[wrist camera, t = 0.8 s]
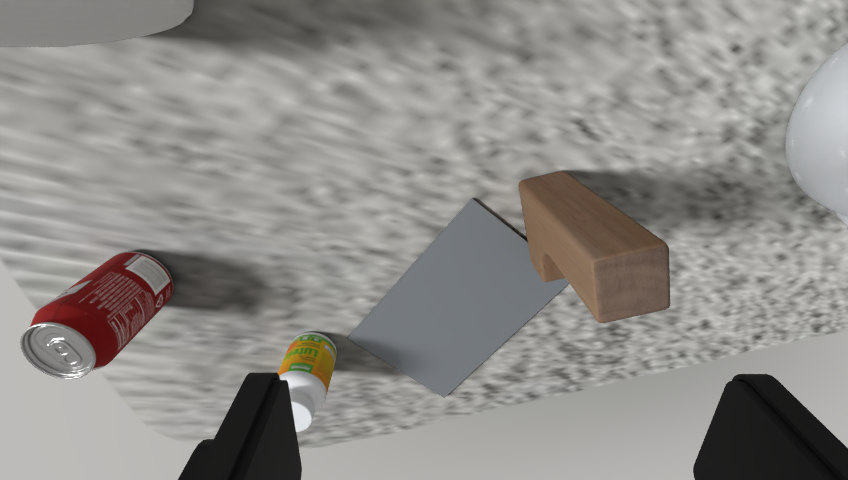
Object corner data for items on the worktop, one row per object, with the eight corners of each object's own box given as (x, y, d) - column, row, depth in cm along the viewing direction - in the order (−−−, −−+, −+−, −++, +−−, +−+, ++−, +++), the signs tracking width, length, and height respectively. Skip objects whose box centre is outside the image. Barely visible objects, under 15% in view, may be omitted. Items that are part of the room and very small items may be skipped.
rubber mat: (472, 197, 42) (472, 199, 42) (572, 276, 46) (573, 278, 45) (348, 336, 49) (347, 338, 49) (444, 395, 53) (444, 397, 52)
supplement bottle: (327, 325, 48) (306, 390, 39) (344, 362, 50) (328, 431, 42) (282, 337, 49) (251, 403, 40) (301, 372, 51) (276, 442, 42)
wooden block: (574, 253, 44) (674, 369, 28) (530, 263, 45) (604, 384, 28) (564, 168, 41) (671, 243, 24) (516, 180, 41) (591, 261, 25)
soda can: (150, 239, 44) (60, 305, 33) (190, 292, 46) (119, 370, 35) (96, 261, 45) (-9, 334, 34) (137, 312, 47) (53, 394, 37)
